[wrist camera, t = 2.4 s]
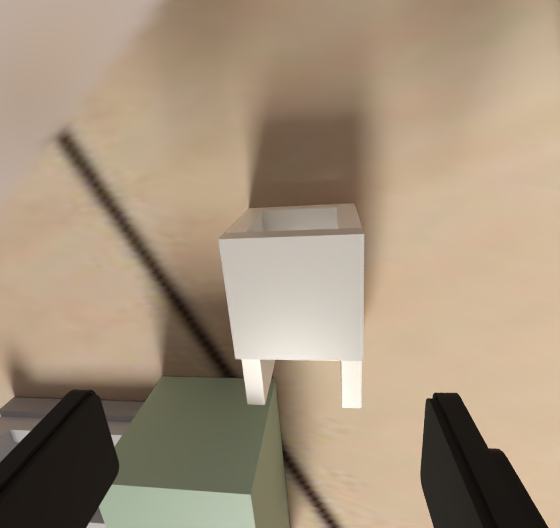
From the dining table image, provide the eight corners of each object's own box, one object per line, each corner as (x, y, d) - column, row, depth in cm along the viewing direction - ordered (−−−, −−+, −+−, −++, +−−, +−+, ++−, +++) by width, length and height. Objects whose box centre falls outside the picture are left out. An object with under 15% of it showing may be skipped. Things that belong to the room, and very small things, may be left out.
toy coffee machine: (275, 378, 21) (245, 520, 13) (291, 539, 25) (275, 708, 18) (3, 372, 23) (-149, 487, 16) (65, 519, 28) (-30, 659, 21)
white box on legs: (249, 207, 17) (218, 239, 12) (354, 202, 17) (364, 233, 12) (264, 347, 20) (243, 417, 15) (354, 348, 19) (362, 422, 15)
